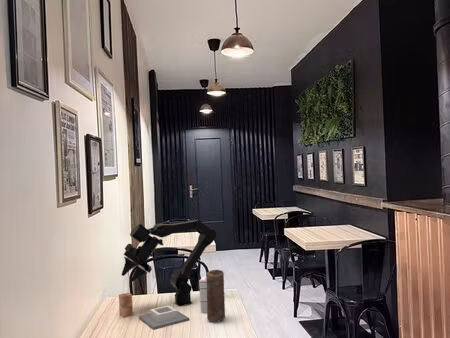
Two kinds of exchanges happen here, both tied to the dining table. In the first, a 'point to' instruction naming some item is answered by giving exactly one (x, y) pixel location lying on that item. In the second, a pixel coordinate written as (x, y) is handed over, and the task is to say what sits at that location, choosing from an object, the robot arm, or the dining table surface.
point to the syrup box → (203, 294)
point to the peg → (125, 305)
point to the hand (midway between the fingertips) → (126, 278)
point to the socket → (163, 317)
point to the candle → (215, 295)
